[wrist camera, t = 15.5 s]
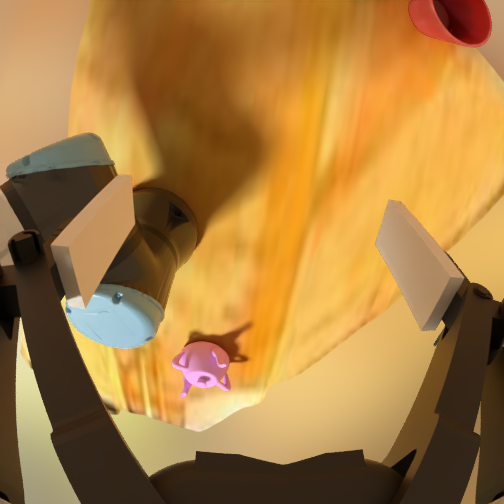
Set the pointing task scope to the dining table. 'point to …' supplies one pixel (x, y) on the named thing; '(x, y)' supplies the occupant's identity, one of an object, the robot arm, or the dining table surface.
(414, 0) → the flower pot
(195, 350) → the pink toy pig
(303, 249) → the dining table surface
